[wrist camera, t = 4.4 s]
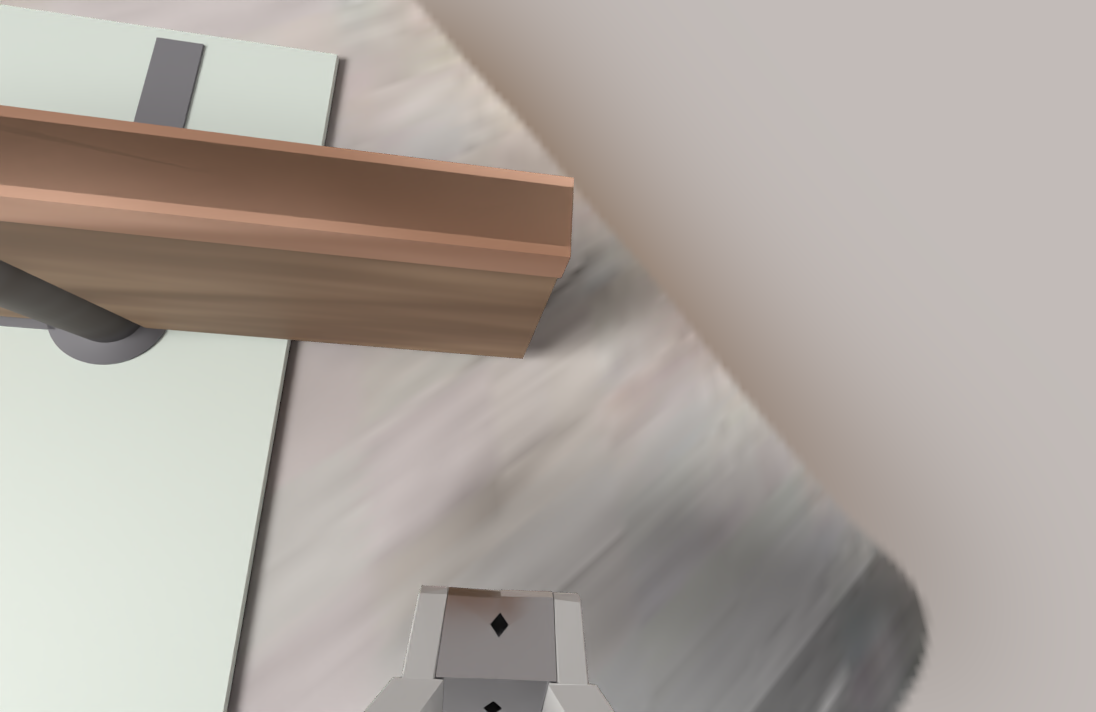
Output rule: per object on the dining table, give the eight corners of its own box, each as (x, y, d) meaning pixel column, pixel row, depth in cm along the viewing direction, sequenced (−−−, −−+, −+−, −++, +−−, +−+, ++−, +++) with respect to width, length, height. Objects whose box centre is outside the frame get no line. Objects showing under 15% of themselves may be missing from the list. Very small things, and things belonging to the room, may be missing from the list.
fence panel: (522, 364, 18) (570, 257, 9) (144, 334, 17) (-217, 173, 8) (525, 320, 18) (573, 177, 10) (155, 286, 17) (-176, 83, 8)
